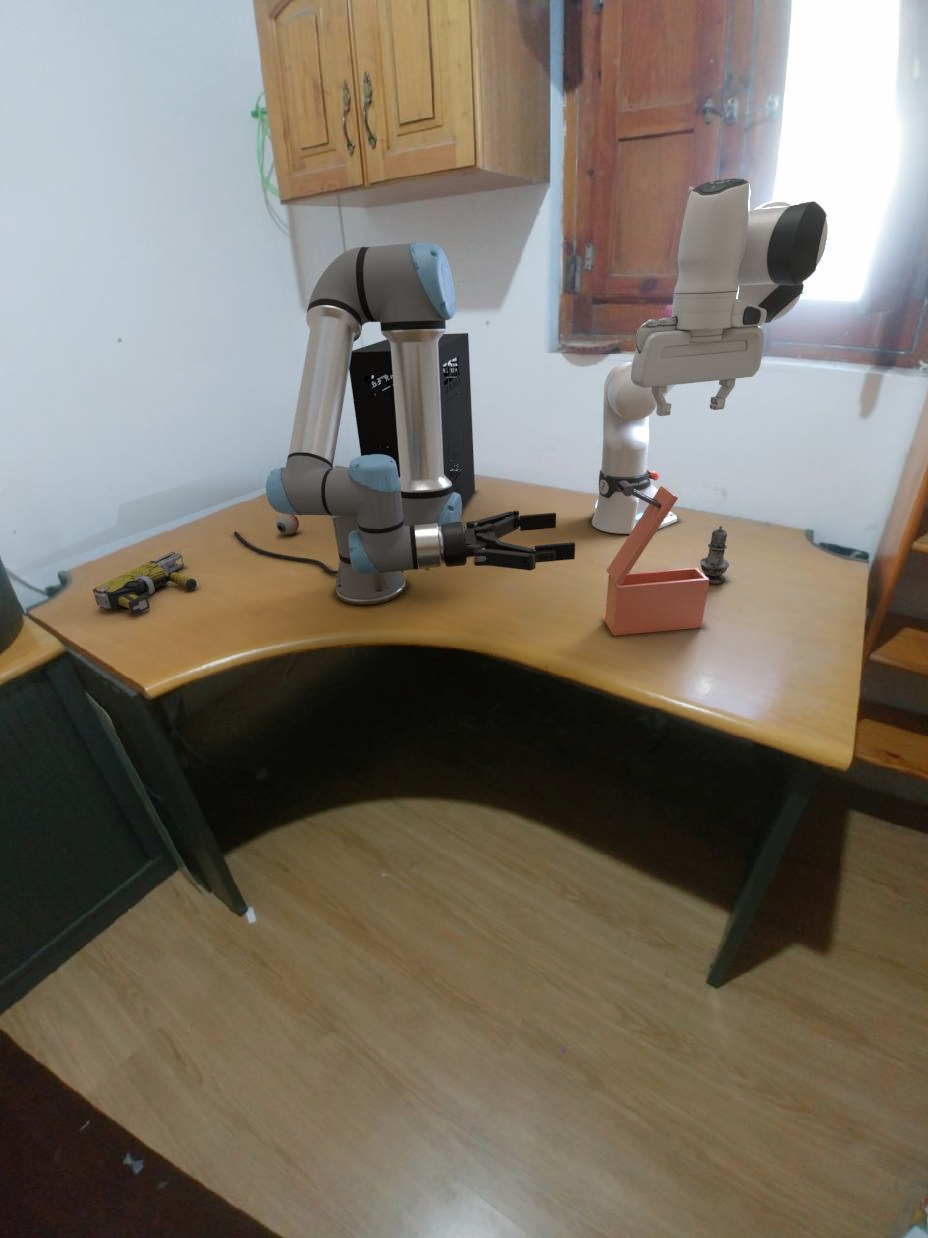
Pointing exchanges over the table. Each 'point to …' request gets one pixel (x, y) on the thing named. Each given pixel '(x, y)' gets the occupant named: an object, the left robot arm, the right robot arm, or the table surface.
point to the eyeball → (287, 523)
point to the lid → (640, 529)
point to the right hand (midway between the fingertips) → (690, 412)
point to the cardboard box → (380, 412)
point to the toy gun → (141, 584)
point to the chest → (656, 601)
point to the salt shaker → (716, 557)
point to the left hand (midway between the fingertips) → (564, 534)
